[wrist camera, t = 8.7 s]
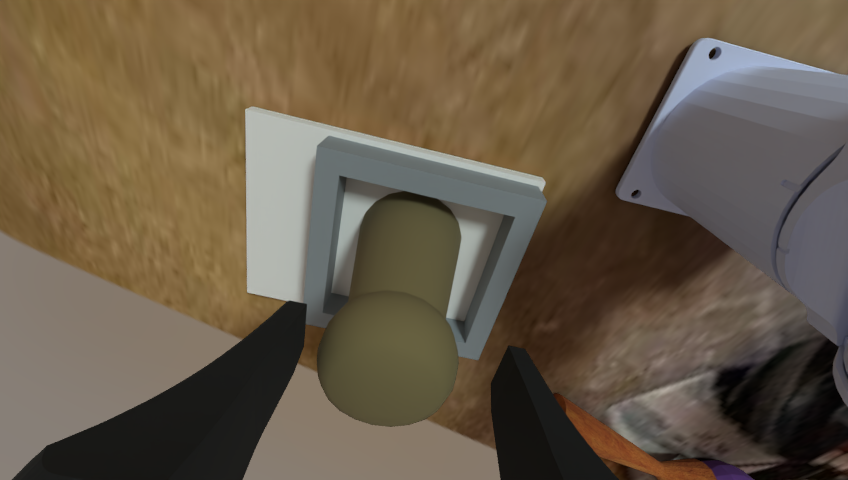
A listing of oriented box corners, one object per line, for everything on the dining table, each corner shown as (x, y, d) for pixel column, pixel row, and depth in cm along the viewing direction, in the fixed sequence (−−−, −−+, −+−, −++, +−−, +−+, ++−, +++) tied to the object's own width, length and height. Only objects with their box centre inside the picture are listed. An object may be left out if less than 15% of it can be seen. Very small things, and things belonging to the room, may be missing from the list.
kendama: (591, 417, 24) (815, 532, 27) (561, 361, 30) (749, 461, 33) (538, 476, 26) (754, 580, 29) (520, 412, 32) (701, 504, 34)
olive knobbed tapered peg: (426, 295, 24) (411, 470, 14) (342, 250, 23) (265, 410, 13) (482, 226, 21) (510, 385, 12) (391, 170, 20) (339, 298, 10)
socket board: (542, 177, 20) (555, 197, 18) (478, 333, 26) (481, 364, 24) (252, 106, 19) (224, 117, 17) (252, 285, 25) (231, 312, 23)
